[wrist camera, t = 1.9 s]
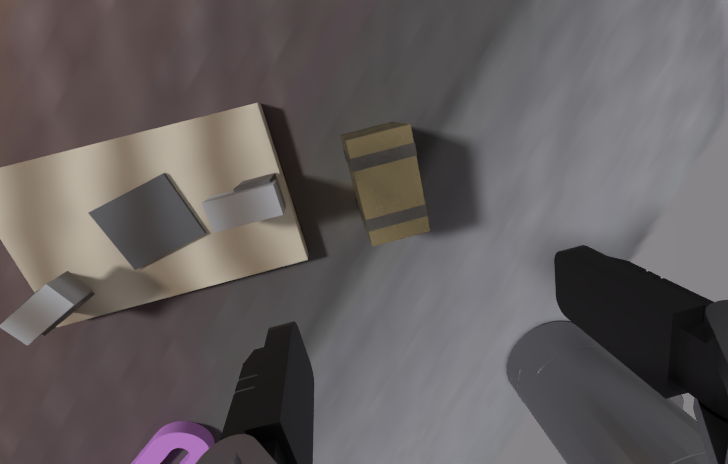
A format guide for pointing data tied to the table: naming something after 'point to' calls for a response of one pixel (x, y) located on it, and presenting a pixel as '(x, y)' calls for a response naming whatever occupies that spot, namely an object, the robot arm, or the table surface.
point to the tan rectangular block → (387, 181)
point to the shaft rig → (146, 218)
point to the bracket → (177, 443)
